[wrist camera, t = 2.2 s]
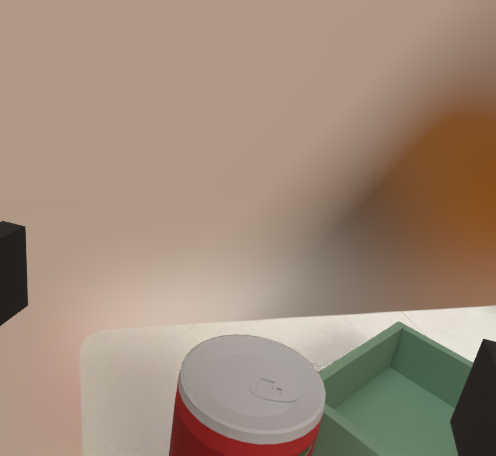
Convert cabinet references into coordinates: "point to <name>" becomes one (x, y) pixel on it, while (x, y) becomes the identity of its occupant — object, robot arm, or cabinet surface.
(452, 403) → the tote
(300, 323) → the cabinet surface
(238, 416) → the canned food
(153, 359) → the cabinet surface
